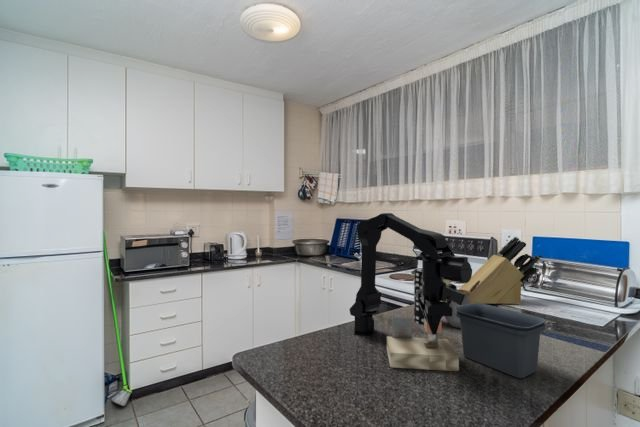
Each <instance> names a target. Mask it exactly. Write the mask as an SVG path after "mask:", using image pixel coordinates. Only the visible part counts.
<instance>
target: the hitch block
mask: <svg viewBox="0 0 640 427" xmlns="http://www.w3.org/2000/svg"><path fill="white" fill-rule="evenodd" d="M386 353H387V357H388V362H389V367H390V368H396V369H397V368H398V369H400V368H401V369H413V370H431V371H447V372H448V371H449V372H451V371H452V372H459V371H460V366H459V365H460V355H459V354H458V353H457V351H456V350H455V349H454V347H453V346H452V344H451V342H450V341H449V340H448V339H447V338H438V345H430V344H428V337H413V336H412V338H395V337H392V335H391V336H390V335H389V336H386Z"/></svg>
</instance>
